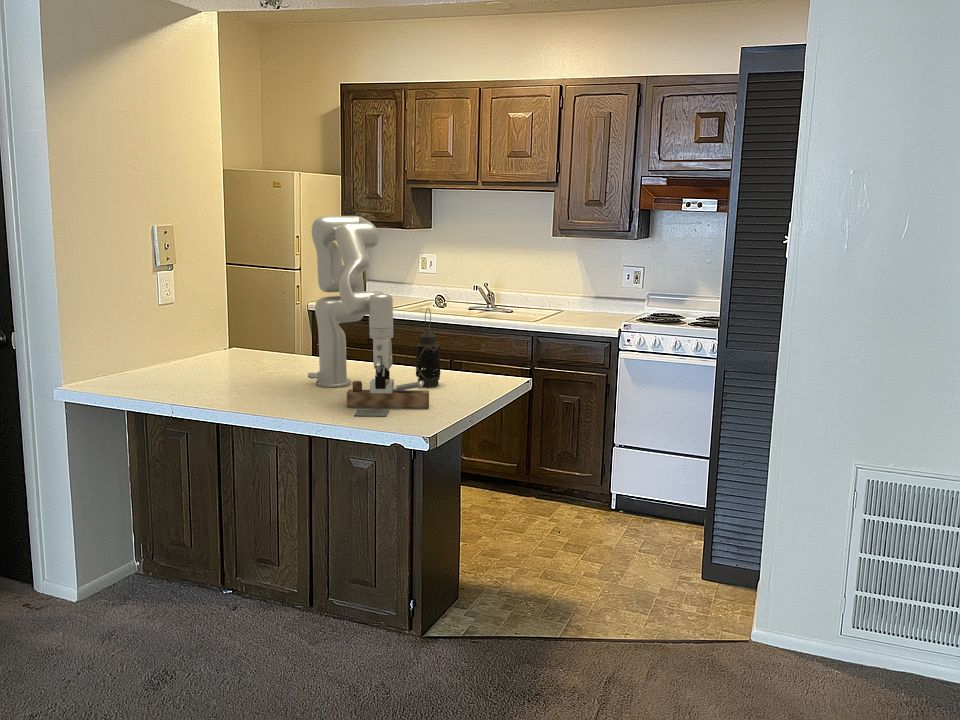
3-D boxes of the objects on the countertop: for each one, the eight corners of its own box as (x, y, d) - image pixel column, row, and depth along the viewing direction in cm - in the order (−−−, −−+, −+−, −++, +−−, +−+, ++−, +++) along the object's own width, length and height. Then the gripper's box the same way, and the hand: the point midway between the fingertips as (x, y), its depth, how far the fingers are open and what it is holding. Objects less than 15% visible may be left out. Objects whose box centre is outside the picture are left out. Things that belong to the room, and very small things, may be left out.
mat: (353, 416, 262) (353, 415, 262) (357, 410, 269) (357, 409, 269) (386, 417, 262) (386, 415, 262) (389, 411, 269) (389, 410, 269)
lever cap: (370, 393, 272) (369, 381, 271) (372, 389, 277) (372, 377, 276) (391, 393, 271) (391, 381, 271) (393, 389, 276) (393, 378, 276)
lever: (392, 388, 271) (422, 382, 271) (394, 384, 276) (423, 379, 275) (393, 392, 272) (423, 387, 271) (395, 389, 276) (424, 384, 276)
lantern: (436, 389, 300) (436, 310, 295) (411, 387, 302) (411, 309, 296) (443, 383, 309) (443, 306, 304) (419, 381, 311) (418, 305, 306)
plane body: (347, 407, 273) (346, 383, 272) (349, 404, 277) (349, 380, 276) (428, 408, 272) (427, 384, 271) (429, 405, 277) (429, 381, 275)
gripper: (389, 336, 262) (390, 391, 265) (396, 329, 279) (397, 380, 282) (365, 336, 262) (366, 391, 265) (373, 329, 279) (375, 380, 282)
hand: (382, 385), depth 273 cm, fingers open, 9 cm apart
